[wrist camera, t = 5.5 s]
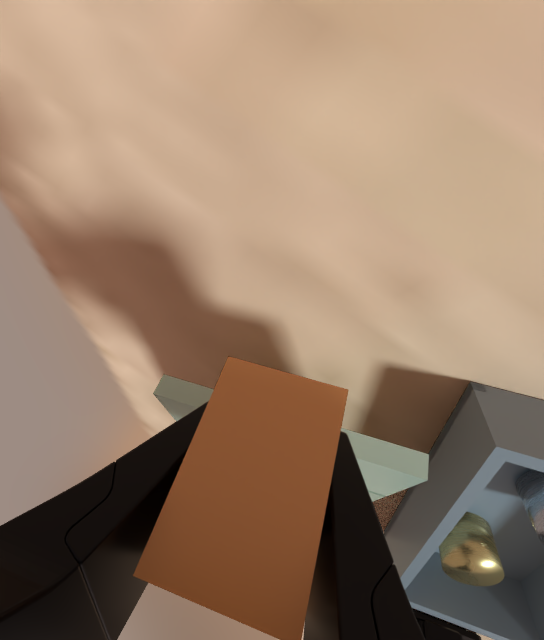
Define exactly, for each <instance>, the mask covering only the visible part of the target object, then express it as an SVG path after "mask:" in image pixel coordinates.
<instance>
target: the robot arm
mask: <svg viewBox="0 0 544 640" xmlns="http://www.w3.org/2000/svg"><path fill="white" fill-rule="evenodd" d="M208 402H209V401H208ZM208 402H206V403H204V404H203V405H201V406H200V407H198V408H197V409H195V410H194V411H192V412H190V413H189V414H187V415H186V416H184V417H183V418H181V419H180V420H178V421H176V422H175V423H173V424H172V425H170V426H169V427H167V428H166V429H164V430H162V431H161V432H159V433H158V434H156V435H155V436H153V437H152V438H150V439H149V440H147V441H145V442H144V443H142V444H141V445H139V446H138V447H136V448H135V449H133V450H131V451H130V452H128V453H127V454H125V455H124V456H122V457H120V458H119V459H117V460H116V462H113V463H111V464H109V465H108V466H106V467H105V468H103V469H102V470H100V471H98V472H97V473H95V474H94V475H92V476H90V477H89V478H87V479H85V480H84V481H82V482H81V483H79V484H77V485H75V486H73V487H72V488H70V489H68V490H66V491H65V492H63V493H61V494H59V495H57V496H56V497H54V498H52V499H50V500H48V501H46V502H44V503H42V504H40V505H39V506H37V507H35V508H33V509H31V510H29V511H27V512H25V513H23V514H22V515H20V516H18V517H16V518H14V519H12V520H10V521H8V522H7V523H5V524H3V525H1V526H0V640H117V639H118V637H119V635H120V633H121V631H122V630H123V628H124V626H125V624H126V622H127V620H128V619H129V617H130V615H131V613H132V611H133V610H134V608H135V606H136V604H137V602H138V600H139V599H140V597H141V595H142V593H143V591H144V590H145V587H146V586H147V584H148V582H146V581H144V580H141V579H139V578H137V577H135V576H133V574H134V572H135V570H136V567H137V565H138V563H139V560H140V558H141V556H142V554H143V551H144V549H145V547H146V544H147V542H148V540H149V537H150V535H151V533H152V531H153V528H154V526H155V524H156V521H157V519H158V517H159V515H160V512H161V510H162V508H163V505H164V503H165V501H166V498H167V496H168V494H169V492H170V489H171V487H172V485H173V482H174V480H175V478H176V475H177V473H178V471H179V469H180V466H181V464H182V462H183V459H184V457H185V455H186V452H187V450H188V448H189V446H190V443H191V441H192V439H193V436H194V434H195V432H196V430H197V427H198V425H199V423H200V420H201V418H202V416H203V413H204V411H205V409H206V407H207V404H208ZM393 563H394V560H393V557H392V555H391V552H390V549H389V546H388V544H387V541H386V538H385V536H384V533H383V530H382V527H381V525H380V522H379V519H378V516H377V514H376V511H375V508H374V506H373V503H372V500H371V497H370V495H369V492H368V489H367V486H366V484H365V481H364V478H363V476H362V473H361V470H360V467H359V465H358V462H357V459H356V456H355V454H354V451H353V448H352V446H351V443H350V440H349V437H348V435H347V434H346V433H345V432H342V431H340V437H339V442H338V447H337V453H336V458H335V463H334V469H333V474H332V479H331V484H330V490H329V495H328V500H327V506H326V511H325V516H324V522H323V527H322V532H321V537H320V543H319V548H318V553H317V559H316V564H315V569H314V575H313V580H312V585H311V590H310V596H309V601H308V606H307V612H306V617H305V625H304V638H303V640H481V637H480V636H479V635H477V634H474V633H471V632H469V631H466V630H464V629H461V628H458V627H456V626H453V625H451V624H448V623H445V622H443V621H440V620H438V619H435V618H433V617H430V616H427V615H425V614H422V613H420V612H417V611H414V610H412V607H411V605H410V602H409V600H408V597H407V595H406V592H405V589H404V587H403V584H402V582H401V579H400V576H399V573H398V571H397V568H396V566H395V565H394V564H393ZM392 564H393V565H392Z"/></svg>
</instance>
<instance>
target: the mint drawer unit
mask: <svg viewBox="0 0 544 640" xmlns="http://www.w3.org/2000/svg"><path fill="white" fill-rule="evenodd" d="M153 394H154V395H155V396H156V398H157V399H158V400H159V401H160V402H161V403H162V405H163V406H164V407H165V408H166V409H167V411H168V412H169V413H170V414H171V415H172V417H173V418H174V419H175V420H176V421H178V420H180V419H181V418H183V417H184V416H186V415H187V414H189V413H190V412H192V411H194V410H195V409H197V408H198V407H200V406H201V405H203V404H204V403H206V402H208V401H209V402H208V404H207V407H206V409H205V411H204V413H203V416H202V418H201V420H200V423H199V425H198V427H197V430H196V432H195V434H194V436H193V439H192V441H191V443H190V446H189V448H188V450H187V452H186V455H185V457H184V459H183V462H182V464H181V466H180V469H179V471H178V473H177V475H176V478H175V480H174V482H173V485H172V487H171V489H170V492H169V494H168V496H167V498H166V501H165V503H164V505H163V508H162V510H161V512H160V515H159V517H158V519H157V521H156V524H155V526H154V528H153V531H152V533H151V535H150V537H149V540H148V542H147V544H146V547H145V549H144V551H143V554H142V556H141V558H140V560H139V563H138V565H137V567H136V570H135V572H134V574H133V576H135V577H137V578H139V579H141V580H144V581H146V582H148V583H151V584H153V585H155V586H158V587H160V588H162V589H165V590H167V591H169V592H172V593H174V594H176V595H179V596H181V597H183V598H185V599H188V600H190V601H192V602H195V603H197V604H199V605H201V606H204V607H206V608H209V609H211V610H213V611H215V612H218V613H220V614H222V615H225V616H227V617H229V618H231V619H234V620H236V621H238V622H241V623H243V624H246V625H248V626H250V627H252V628H255V629H257V630H259V631H261V632H264V633H267V634H269V635H271V636H273V637H275V638H278V639H280V640H301V638H302V633H303V628H304V622H305V617H306V612H307V606H308V601H309V596H310V590H311V585H312V580H313V575H314V569H315V564H316V559H317V553H318V548H319V543H320V537H321V532H322V527H323V522H324V516H325V511H326V506H327V500H328V495H329V490H330V484H331V479H332V474H333V469H334V463H335V458H336V453H337V447H338V442H339V437H340V431H342V432H345V433H346V434H347V435H348V437H349V440H350V443H351V446H352V448H353V451H354V454H355V456H356V459H357V462H358V465H359V467H360V470H361V473H362V476H363V478H364V481H365V484H366V486H367V489H368V492H369V495H370V497H371V500H372V502H373V501H376V500H378V499H381V498H384V496H389V495H391V494H394V493H397V492H399V491H402V490H404V489H407V488H410V487H412V486H415V485H417V484H420V483H423V482H425V481H428V463H429V454H426V453H423V452H419V451H416V450H413V449H409V448H406V447H403V446H400V445H396V444H393V443H390V442H386V441H383V440H380V439H376V438H373V437H370V436H366V435H363V434H360V433H357V432H353V431H350V430H347V429H343V428H341V426H342V421H343V416H344V410H345V405H346V400H347V394H348V390H347V389H344V388H340V387H337V386H333V385H329V384H326V383H322V382H319V381H315V380H312V379H308V378H304V377H301V376H297V375H294V374H290V373H287V372H283V371H279V370H276V369H272V368H269V367H265V366H262V365H258V364H254V363H251V362H247V361H244V360H240V359H237V358H233V357H230V356H228V358H227V361H226V363H225V365H224V368H223V370H222V372H221V374H220V377H219V379H218V381H217V384H216V386H215V388H214V389H211V388H208V387H204V386H201V385H198V384H194V383H191V382H188V381H185V380H181V379H178V378H175V377H171V376H168V375H165V374H164V375H163V376H162V378H161V380H160V382H159V384H158V386H157V387H156V389H155V391H154V393H153Z"/></svg>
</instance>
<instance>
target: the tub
mask: <svg viewBox="0 0 544 640" xmlns="http://www.w3.org/2000/svg"><path fill="white" fill-rule="evenodd" d="M532 469H533V470H537V471H540V472H544V400H540V399H537V398H533V397H529V396H525V395H521V394H517V393H513V392H509V391H506V390H502V389H498V388H494V387H490V386H486V385H482V384H478V383H475V382H471V381H470V383H469V385H468V386H467V388H466V390H465V391H464V393H463V395H462V397H461V398H460V400H459V402H458V404H457V405H456V407H455V409H454V411H453V412H452V414H451V416H450V417H449V419H448V421H447V423H446V424H445V426H444V428H443V430H442V431H441V433H440V435H439V437H438V438H437V440H436V442H435V443H434V445H433V447H432V449H431V450H430V452H429V463H428V481H425V482H423V483H420V484H417V485H415V486H412V487H410V488H409V489H408V490H407V492H406V494H405V495H404V497H403V499H402V501H401V502H400V504H399V506H398V508H397V509H396V511H395V513H394V515H393V516H392V518H391V520H390V521H389V523H388V525H387V527H386V528H385V530H384V536H385V538H386V541H387V544H388V546H389V549H390V552H391V555H392V557H393V560H394V563H393V564H394V565H395V566H396V568H397V571H398V573H399V576H400V579H401V582H402V584H403V587H404V589H405V592H406V595H407V597H408V600H409V602H410V605H411V607H412V608H414V609H417V610H419V611H422V612H425V613H427V614H430V615H432V616H435V617H438V618H440V619H443V620H445V621H448V622H451V623H453V624H456V625H458V626H461V627H464V628H466V629H469V630H471V631H474V632H477V633H479V634H482V635H484V636H487V637H490V638H492V639H495V640H544V544H543V543H542V542H541V541H540V539H539V538H538V535H537V533H536V531H535V529H534V527H533V525H532V523H531V521H530V519H529V516H528V514H527V512H526V510H525V508H524V506H523V504H522V502H521V500H520V497H519V495H518V493H517V491H516V488H515V484H516V481H517V480H518V478H519V477H520V476H521V475H523V474H524V473H526V472H528V471H530V470H532ZM466 512H470V513H474V514H476V515H479V516H480V517H482V518H484V519H485V520H486V521H487V522H488V523H489V525H490V527H491V530H492V534H493V537H494V540H495V544H496V547H497V550H498V554H499V557H500V560H501V564H502V567H503V570H504V579H503V580H502V581H501V582H500V583H498V584H495V585H492V586H472V585H467V584H464V583H461V582H458V581H456V580H454V579H452V578H450V577H449V576H448V575H447V574H446V573H445V572H444V571H443V569H442V565H441V559H440V553H439V546H440V545H441V543H442V542H443V541H444V539H445V538H446V537H447V536H448V534H449V533H450V532H451V531H452V529H453V528H454V527H455V525H456V524H457V523H458V522H459V520H460V519H461V518H462V516H463V515H464V514H465V513H466ZM393 564H392V565H393Z"/></svg>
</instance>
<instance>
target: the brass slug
mask: <svg viewBox="0 0 544 640" xmlns="http://www.w3.org/2000/svg"><path fill="white" fill-rule="evenodd" d="M439 553H440V559H441V565H442V569H443V571H444V572H445V573H446V574H447V575H448V576H449V577H450V578H452V579H454V580H456V581H458V582H461V583H464V584H467V585H472V586H492V585H495V584H498V583H500V582H501V581H502V580H503V579H504V570H503V567H502V564H501V560H500V557H499V554H498V550H497V547H496V544H495V540H494V537H493V534H492V530H491V527H490V525H489V523H488V522H487V521H486V520H485V519H484V518H482V517H480V516H479V515H476V514H474V513H470V512H466V513H465V514H464V515H463V516H462V518H461V519H460V520H459V522H458V523H457V524H456V525H455V527H454V528H453V529H452V531H451V532H450V533H449V534H448V536H447V537H446V538H445V539H444V541H443V542H442V543H441V545H440V546H439Z"/></svg>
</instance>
